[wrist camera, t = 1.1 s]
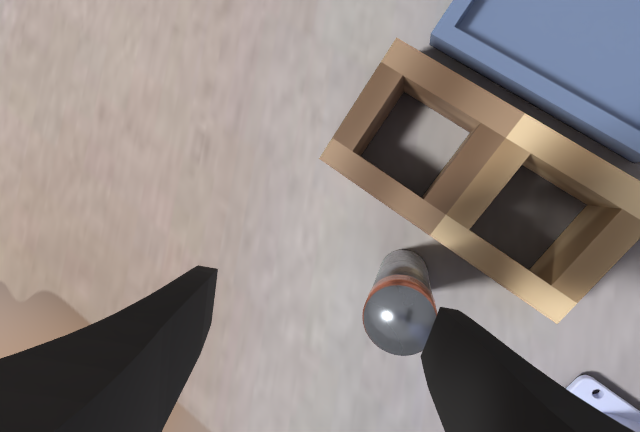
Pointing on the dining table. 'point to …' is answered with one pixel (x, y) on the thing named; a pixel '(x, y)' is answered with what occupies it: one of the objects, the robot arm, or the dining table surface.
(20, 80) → the dining table surface
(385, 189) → the square wooden frame
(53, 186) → the dining table surface
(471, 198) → the light wood square frame
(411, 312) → the grey orange cylinder
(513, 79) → the tray
